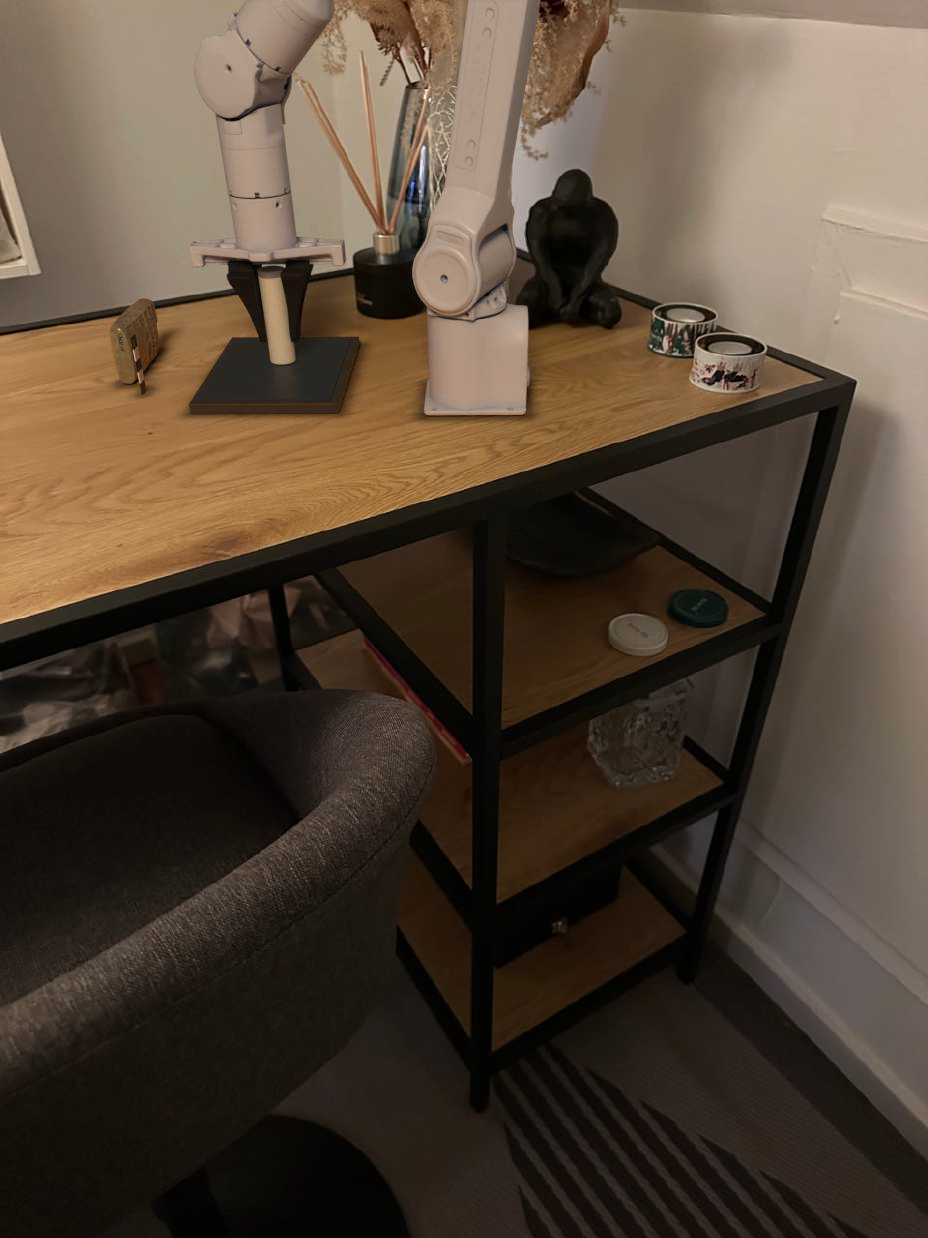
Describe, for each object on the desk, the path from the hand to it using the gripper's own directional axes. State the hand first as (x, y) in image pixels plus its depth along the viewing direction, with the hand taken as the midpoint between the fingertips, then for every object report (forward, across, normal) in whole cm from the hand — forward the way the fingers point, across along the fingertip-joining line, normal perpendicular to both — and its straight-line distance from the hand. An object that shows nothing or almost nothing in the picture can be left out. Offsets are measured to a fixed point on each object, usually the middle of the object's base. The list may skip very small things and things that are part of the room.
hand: (280, 338), depth 88 cm
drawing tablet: (+3, 0, -2) cm, 4 cm away
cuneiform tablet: (+3, -15, 0) cm, 15 cm away
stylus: (+2, 0, 0) cm, 2 cm away
